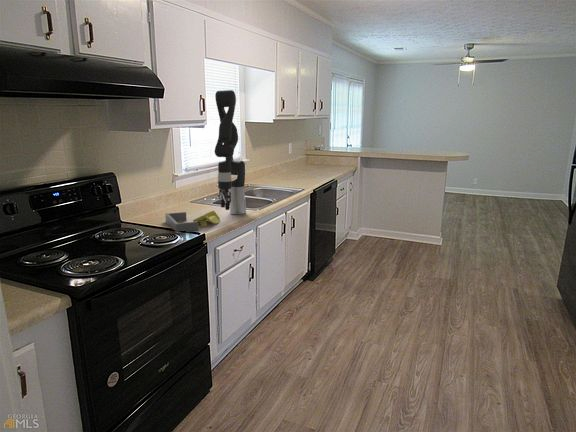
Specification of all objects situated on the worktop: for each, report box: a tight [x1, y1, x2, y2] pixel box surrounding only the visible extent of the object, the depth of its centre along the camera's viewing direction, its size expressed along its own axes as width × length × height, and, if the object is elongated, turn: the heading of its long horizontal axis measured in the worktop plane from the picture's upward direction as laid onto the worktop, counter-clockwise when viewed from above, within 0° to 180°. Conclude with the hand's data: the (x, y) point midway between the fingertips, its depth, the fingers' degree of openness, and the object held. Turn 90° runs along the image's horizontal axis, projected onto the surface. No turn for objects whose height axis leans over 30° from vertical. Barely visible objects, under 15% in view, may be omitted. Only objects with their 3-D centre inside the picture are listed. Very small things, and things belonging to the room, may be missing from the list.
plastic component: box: [192, 210, 221, 228], centre depth 230 cm, size 20×7×10 cm
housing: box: [164, 211, 199, 233], centre depth 225 cm, size 12×28×5 cm, turn 27°
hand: (225, 208), depth 235 cm, fingers open, 8 cm apart
